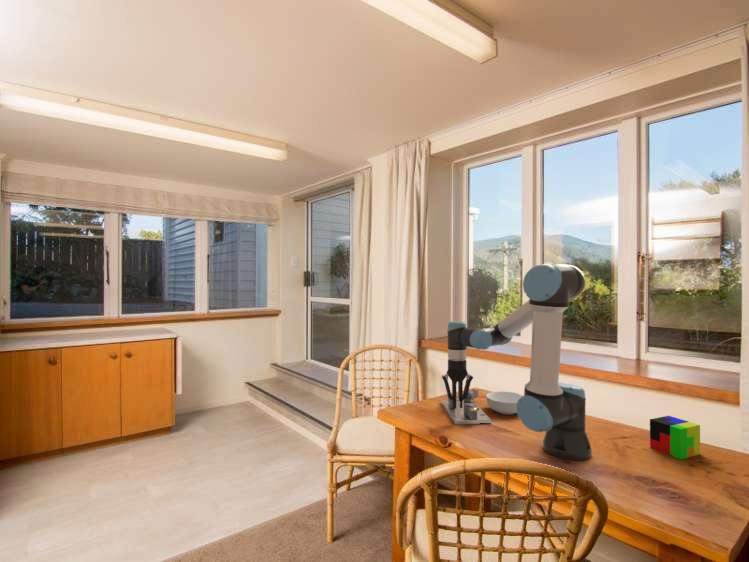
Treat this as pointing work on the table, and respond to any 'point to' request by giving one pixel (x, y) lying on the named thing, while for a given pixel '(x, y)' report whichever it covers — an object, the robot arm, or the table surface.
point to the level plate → (465, 419)
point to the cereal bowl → (503, 402)
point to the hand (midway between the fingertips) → (457, 415)
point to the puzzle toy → (675, 436)
